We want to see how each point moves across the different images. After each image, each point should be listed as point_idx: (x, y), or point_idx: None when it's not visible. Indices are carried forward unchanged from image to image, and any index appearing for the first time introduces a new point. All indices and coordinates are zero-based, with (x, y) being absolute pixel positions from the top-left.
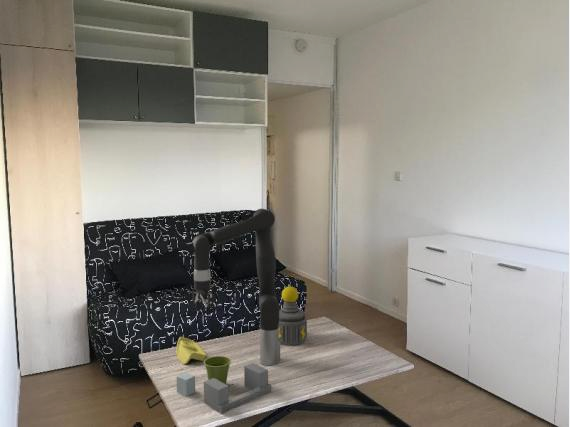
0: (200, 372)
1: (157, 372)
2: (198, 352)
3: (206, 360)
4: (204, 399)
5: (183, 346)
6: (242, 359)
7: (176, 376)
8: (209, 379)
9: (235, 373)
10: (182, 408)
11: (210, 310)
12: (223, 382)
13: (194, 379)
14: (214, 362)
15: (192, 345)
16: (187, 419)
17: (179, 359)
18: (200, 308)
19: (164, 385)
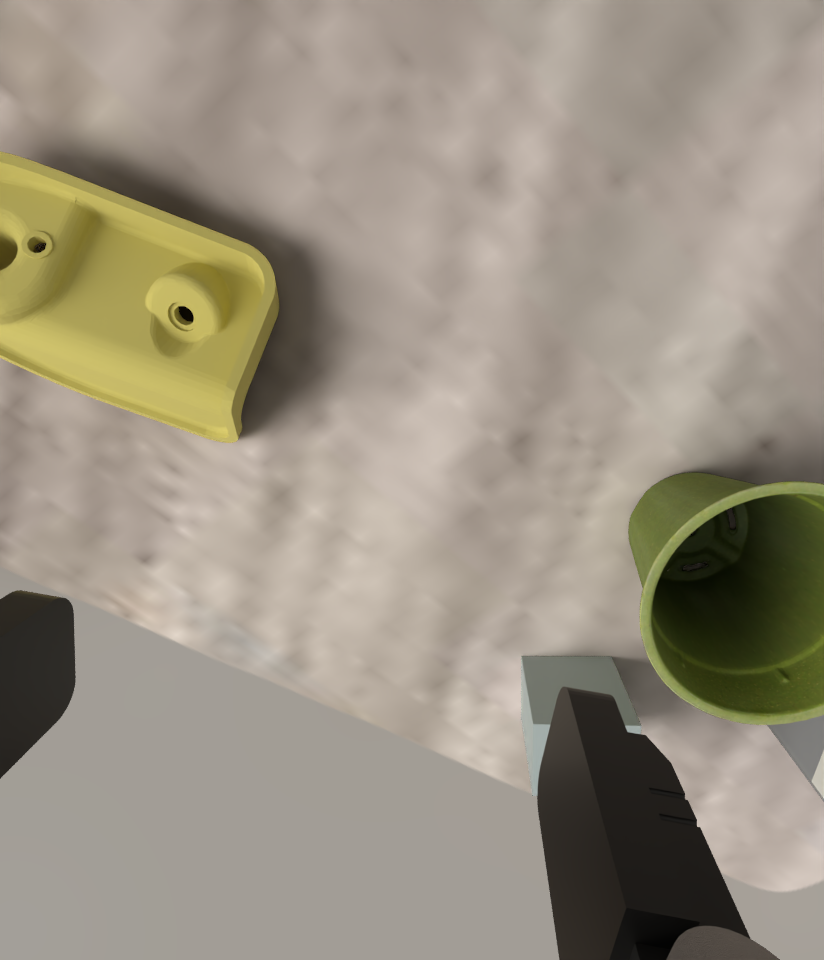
0: (426, 455)
1: (203, 622)
2: (185, 283)
3: (656, 641)
4: (780, 737)
5: (14, 319)
6: (527, 25)
7: (532, 795)
8: (691, 617)
9: (667, 298)
10: (694, 813)
11: (695, 840)
12: (775, 550)
13: (633, 713)
14: (663, 540)
15: (16, 212)
16: (800, 865)
17: (134, 412)
18: (30, 620)
19: (391, 705)
